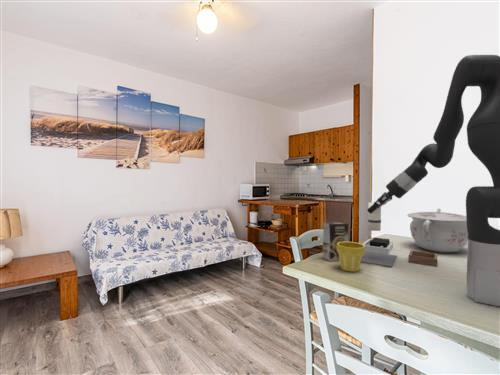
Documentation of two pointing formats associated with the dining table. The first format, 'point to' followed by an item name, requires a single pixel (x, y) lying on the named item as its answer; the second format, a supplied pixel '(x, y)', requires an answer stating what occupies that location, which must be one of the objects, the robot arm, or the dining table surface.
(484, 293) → the robot arm
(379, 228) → the white capsule dome
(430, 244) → the chamber pot
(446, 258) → the dining table surface
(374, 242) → the electronic device
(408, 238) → the dining table surface
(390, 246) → the grey organizer frame
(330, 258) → the coffee box
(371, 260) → the charcoal mat
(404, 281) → the dining table surface
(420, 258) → the walnut collar
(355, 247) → the plant pot
